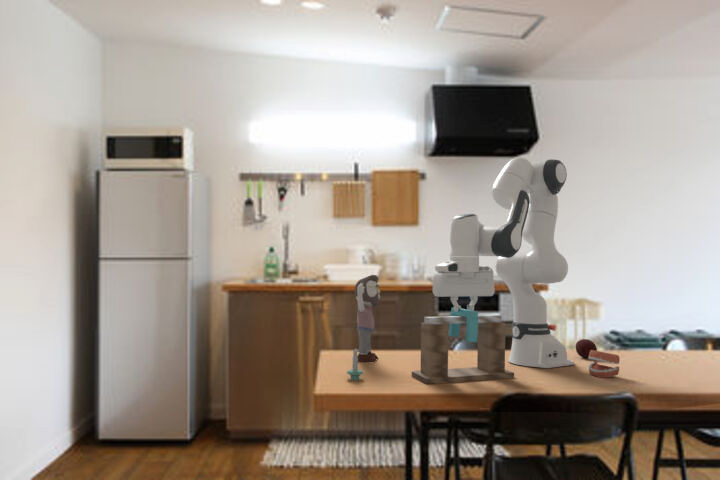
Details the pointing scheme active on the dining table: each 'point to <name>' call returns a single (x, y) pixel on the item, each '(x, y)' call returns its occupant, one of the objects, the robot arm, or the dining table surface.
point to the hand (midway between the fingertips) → (463, 311)
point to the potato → (585, 347)
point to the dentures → (601, 369)
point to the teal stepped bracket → (470, 326)
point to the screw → (355, 367)
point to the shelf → (437, 351)
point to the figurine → (366, 315)
